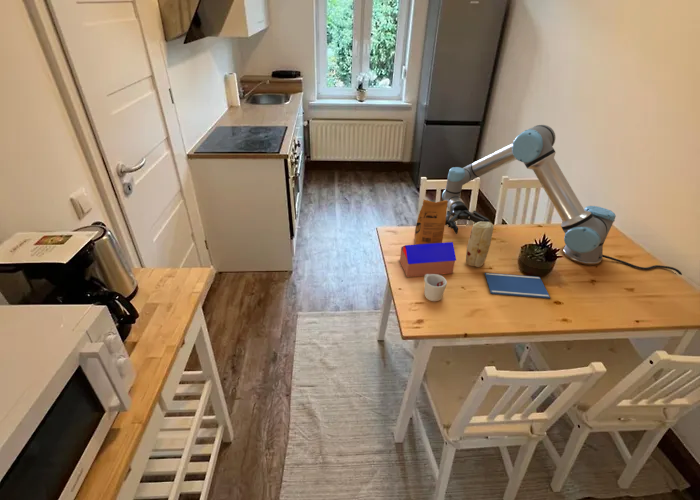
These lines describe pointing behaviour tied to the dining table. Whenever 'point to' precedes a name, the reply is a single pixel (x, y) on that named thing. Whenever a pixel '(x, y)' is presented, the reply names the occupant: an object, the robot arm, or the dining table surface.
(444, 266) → the house
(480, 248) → the food model
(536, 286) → the towel
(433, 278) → the cup
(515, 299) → the dining table surface
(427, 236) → the coffee package
